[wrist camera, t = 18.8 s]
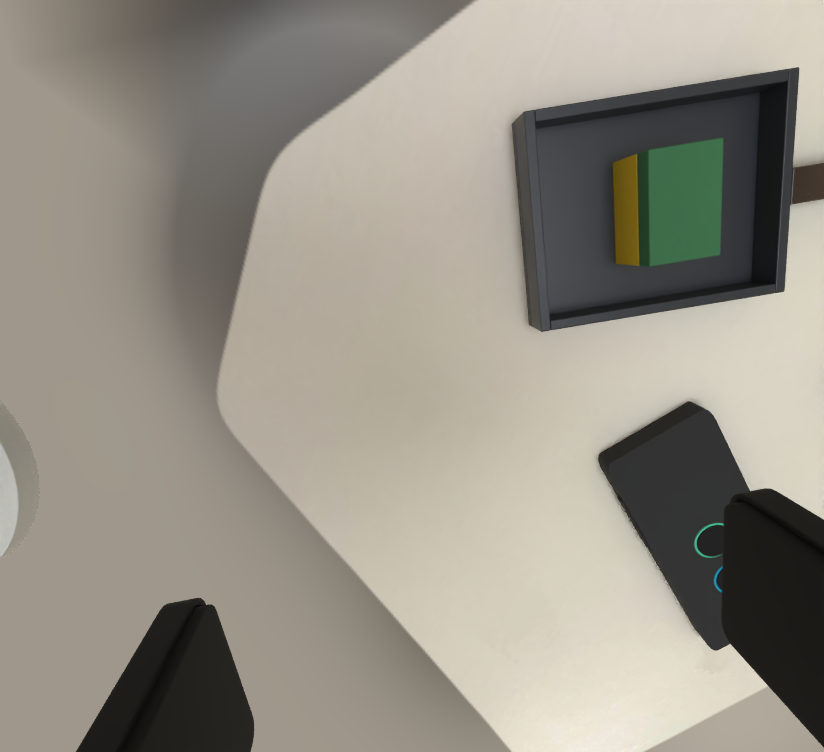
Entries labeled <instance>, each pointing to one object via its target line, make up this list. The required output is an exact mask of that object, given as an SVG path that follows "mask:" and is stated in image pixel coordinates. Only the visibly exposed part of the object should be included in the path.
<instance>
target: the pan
mask: <svg viewBox="0 0 824 752" xmlns="http://www.w3.org/2000/svg"><path fill="white" fill-rule="evenodd" d="M798 80H799V68H798V67H797V68H791V69H784V70H778V71H772V72H766V73H760V74H754V75H747V76H741V77H735V78H729V79H723V80H716V81H710V82H704V83H698V84H692V85H685V86H679V87H673V88H667V89H661V90H655V91H648V92H642V93H636V94H630V95H624V96H617V97H611V98H605V99H599V100H593V101H587V102H580V103H574V104H568V105H562V106H556V107H549V108H543V109H537V110H531V111H525V112H523V113H522V114H521V115H520V116H519V117H518V118H517V119H516V120H515V121H514V122H513V123H512V129H513V140H514V152H515V163H516V175H517V186H518V198H519V209H520V221H521V232H522V244H523V255H524V267H525V278H526V290H527V301H528V313H529V324H530V325H531V326H532V327H534V328H536V329H538V330H540V331H542V332H543V331H549V330H555V329H561V328H567V327H573V326H579V325H585V324H591V323H597V322H603V321H609V320H615V319H621V318H627V317H633V316H640V315H646V314H652V313H658V312H664V311H670V310H676V309H682V308H688V307H694V306H700V305H706V304H712V303H718V302H724V301H730V300H736V299H742V298H748V297H754V296H760V295H767V294H773V293H779V292H784V289H785V274H786V259H787V244H788V229H789V214H790V200H791V185H792V170H793V155H794V140H795V125H796V110H797V95H798ZM716 138H723V173H722V208H721V244H720V255H718V256H713V257H707V258H700V259H694V260H688V261H682V262H676V263H670V264H664V265H658V266H652V267H648V266H634V265H622V264H616V250H615V220H614V190H613V163H614V162H616V161H619V160H622V159H624V158H627V157H630V156H632V155H635V154H638V153H641V152H644V151H646V150H649V149H655V148H661V147H667V146H673V145H680V144H686V143H692V142H698V141H704V140H710V139H716Z"/></svg>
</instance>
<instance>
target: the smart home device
mask: <svg viewBox="0 0 824 752" xmlns="http://www.w3.org/2000/svg"><path fill="white" fill-rule="evenodd" d="M599 463H600V466H601V468H602V470H603V472H604V474H605V475H606V477H607V479H608V481H609V482H610V484H611V486H612V487H613V489H614V491H615V493H616V494H617V496H618V497H617V498H618V499H619V501H620V503H621V504H622V506H623V508H624V510H625V511H626V513H627V515H628V516H629V518H630V520H631V521H632V523H633V525H634V527H635V528H636V530H637V532H638V534H639V535H640V537H641V539H642V540H643V542H644V544H645V545H646V547H647V548H648V549H649V551H650V553H651V554H652V556H653V558H654V560H655V561H656V563H657V565H658V566H659V568H660V570H661V572H662V573H663V575H664V577H665V578H666V580H667V582H668V584H669V585H670V587H671V589H672V591H673V592H674V594H675V596H676V597H677V599H678V601H679V603H680V604H681V606H682V608H683V609H684V611H685V613H686V615H687V616H688V618H689V620H690V621H691V623H692V625H693V627H694V628H695V630H696V631H697V632H698V633H699V635H700V636H701V637H702V638H703V640H704V641H705V642H706V643H707V645H708V646H709V647H710V648H711V649H713V650H719V649H721V648H723V647H725V646H727V645H729V644H731V643H730V642H729V641H728V639H727V637H726V636H725V633H724V631H723V628H722V624H721V607H722V567H723V527H724V509H725V507H726V505H728V504H730V500H731V498H732V497H733V496H734V495H736V494H739V493H744V492H750V490H749V488H748V486H747V484H746V482H745V480H744V478H743V476H742V473H741V471H740V469H739V467H738V465H737V463H736V461H735V459H734V457H733V455H732V453H731V451H730V448H729V446H728V444H727V442H726V440H725V438H724V436H723V434H722V432H721V430H720V428H719V426H718V423H717V421H716V419H715V418H714V416H713V415H712V414H711V413H710V412H709V411H708V410H706V409H704V408H702V407H700V406H698V405H696V404H694V403H692V402H688V403H686V404H685V405H683V406H681V407H679V408H678V409H676V410H674V411H673V412H671V413H669V414H667V415H666V416H664V417H662V418H661V419H659V420H657V421H655V422H654V423H652V424H650V425H649V426H647V427H645V428H644V429H642V430H640V431H638V432H637V433H635V434H633V435H632V436H630V437H628V438H626V439H625V440H623V441H621V442H620V443H618V444H616V445H614V446H613V447H611V448H609V449H608V450H606V451H604V452H603V453H601V454H600V455H599Z"/></svg>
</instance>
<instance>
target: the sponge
mask: <svg viewBox="0 0 824 752" xmlns="http://www.w3.org/2000/svg"><path fill="white" fill-rule="evenodd" d="M722 173H723V138H716V139H710V140H704V141H698V142H692V143H686V144H680V145H673V146H667V147H661V148H655V149H649V150H646V151H644V152H641V153H638V154H635V155H632V156H630V157H627V158H624V159H622V160H619V161H616V162H614V163H613V190H614V220H615V250H616V264H622V265H634V266H648V267H652V266H658V265H664V264H670V263H676V262H682V261H688V260H694V259H700V258H707V257H713V256H718V255H720V244H721V208H722Z"/></svg>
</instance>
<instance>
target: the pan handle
mask: <svg viewBox="0 0 824 752" xmlns="http://www.w3.org/2000/svg"><path fill="white" fill-rule="evenodd" d="M821 199H824V163H820V164H813V165H807V166H801V167H795V168H793V170H792V185H791V200H790V204H796V203H803V202H809V201H815V200H821Z"/></svg>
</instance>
